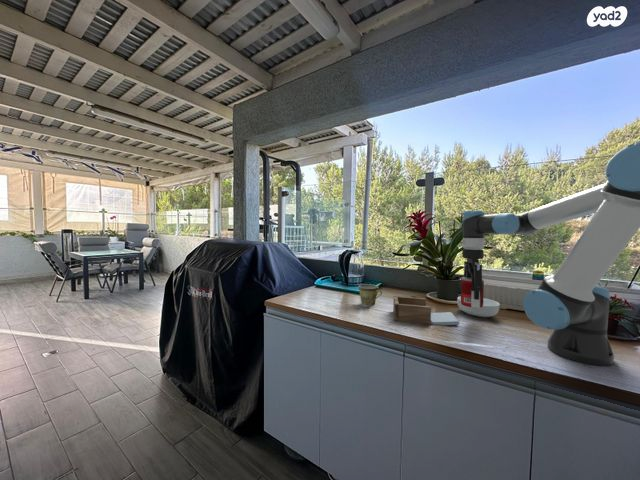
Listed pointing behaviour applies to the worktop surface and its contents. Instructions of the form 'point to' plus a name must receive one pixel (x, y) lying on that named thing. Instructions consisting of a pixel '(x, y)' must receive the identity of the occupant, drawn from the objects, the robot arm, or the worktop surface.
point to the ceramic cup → (368, 294)
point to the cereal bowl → (481, 308)
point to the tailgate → (444, 319)
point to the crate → (411, 310)
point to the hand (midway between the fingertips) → (471, 304)
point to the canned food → (469, 292)
